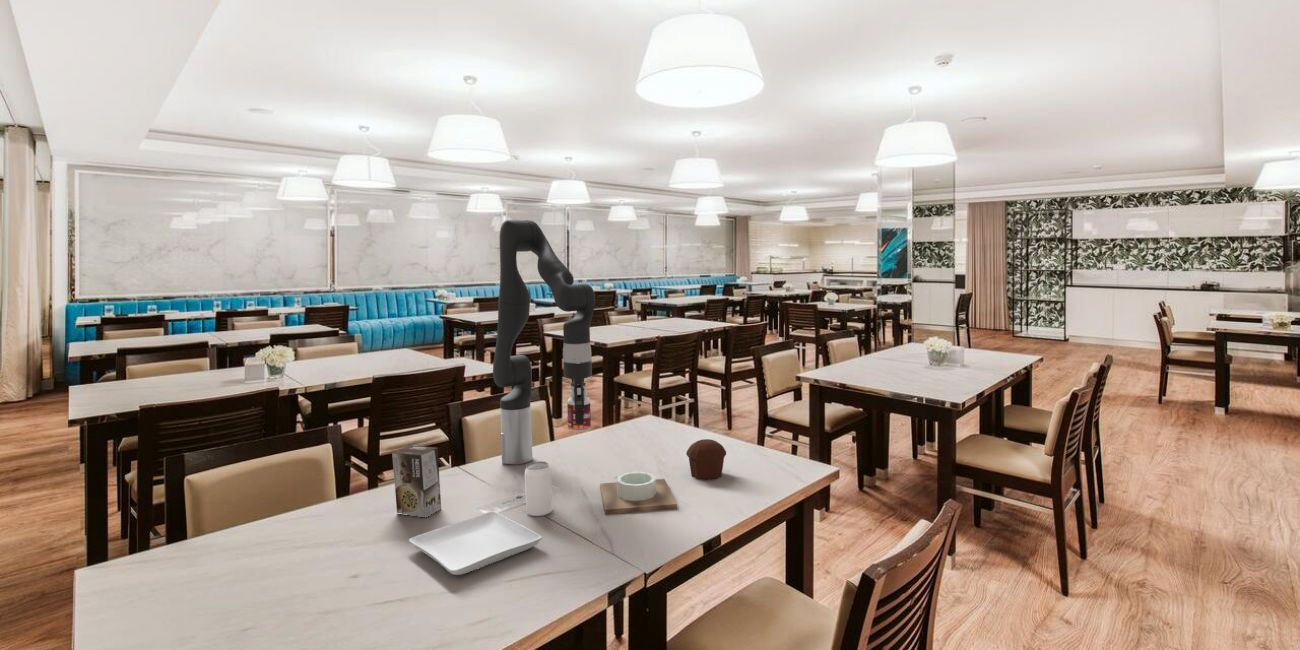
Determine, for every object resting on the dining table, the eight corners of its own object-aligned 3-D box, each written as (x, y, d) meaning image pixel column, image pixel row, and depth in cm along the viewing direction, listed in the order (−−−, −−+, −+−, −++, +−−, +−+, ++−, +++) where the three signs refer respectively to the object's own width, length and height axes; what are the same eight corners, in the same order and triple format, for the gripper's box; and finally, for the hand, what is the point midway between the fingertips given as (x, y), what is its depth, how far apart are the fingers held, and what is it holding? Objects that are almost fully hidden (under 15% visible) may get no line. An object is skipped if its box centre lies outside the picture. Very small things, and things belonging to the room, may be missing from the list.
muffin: (701, 484, 166) (701, 449, 165) (678, 473, 176) (678, 440, 175) (734, 476, 173) (734, 442, 172) (710, 465, 182) (710, 433, 181)
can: (527, 507, 153) (525, 461, 152) (553, 505, 154) (551, 460, 153) (524, 517, 147) (522, 470, 146) (551, 516, 147) (549, 468, 146)
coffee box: (442, 508, 153) (439, 447, 152) (425, 519, 147) (421, 455, 146) (413, 504, 156) (409, 444, 155) (395, 514, 150) (391, 451, 149)
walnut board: (605, 514, 148) (604, 509, 148) (600, 487, 166) (599, 483, 165) (677, 508, 151) (677, 503, 150) (664, 482, 168) (664, 478, 168)
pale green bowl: (619, 502, 152) (619, 486, 152) (615, 487, 162) (615, 473, 162) (658, 499, 154) (658, 483, 153) (652, 484, 164) (652, 470, 163)
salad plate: (494, 522, 146) (493, 508, 145) (545, 550, 131) (544, 535, 130) (407, 552, 131) (406, 537, 131) (453, 588, 116) (452, 571, 116)
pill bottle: (573, 434, 159) (571, 393, 158) (564, 429, 164) (563, 389, 163) (594, 430, 162) (593, 390, 161) (585, 425, 167) (584, 386, 166)
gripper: (563, 355, 168) (564, 414, 169) (563, 364, 154) (565, 428, 155) (590, 354, 169) (591, 413, 171) (593, 363, 155) (594, 426, 156)
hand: (579, 420), depth 163 cm, fingers closed on pill bottle, 6 cm apart
